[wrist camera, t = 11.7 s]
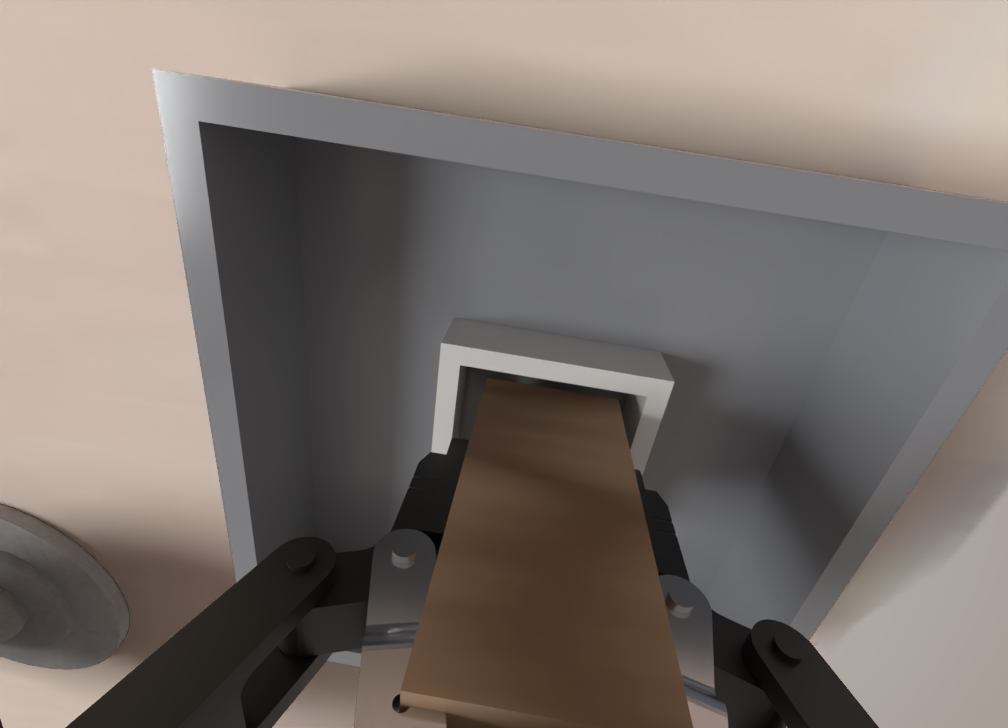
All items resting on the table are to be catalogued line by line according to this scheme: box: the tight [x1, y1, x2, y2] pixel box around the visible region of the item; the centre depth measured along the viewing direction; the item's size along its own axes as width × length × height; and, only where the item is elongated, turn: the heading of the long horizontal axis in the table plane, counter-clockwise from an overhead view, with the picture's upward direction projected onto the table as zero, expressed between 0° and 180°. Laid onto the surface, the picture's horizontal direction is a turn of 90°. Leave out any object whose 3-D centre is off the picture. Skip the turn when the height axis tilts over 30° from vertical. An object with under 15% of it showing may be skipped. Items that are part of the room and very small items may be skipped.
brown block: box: [399, 378, 693, 728], centre depth 11 cm, size 4×4×9 cm
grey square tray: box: [152, 69, 1008, 667], centre depth 15 cm, size 18×18×5 cm
